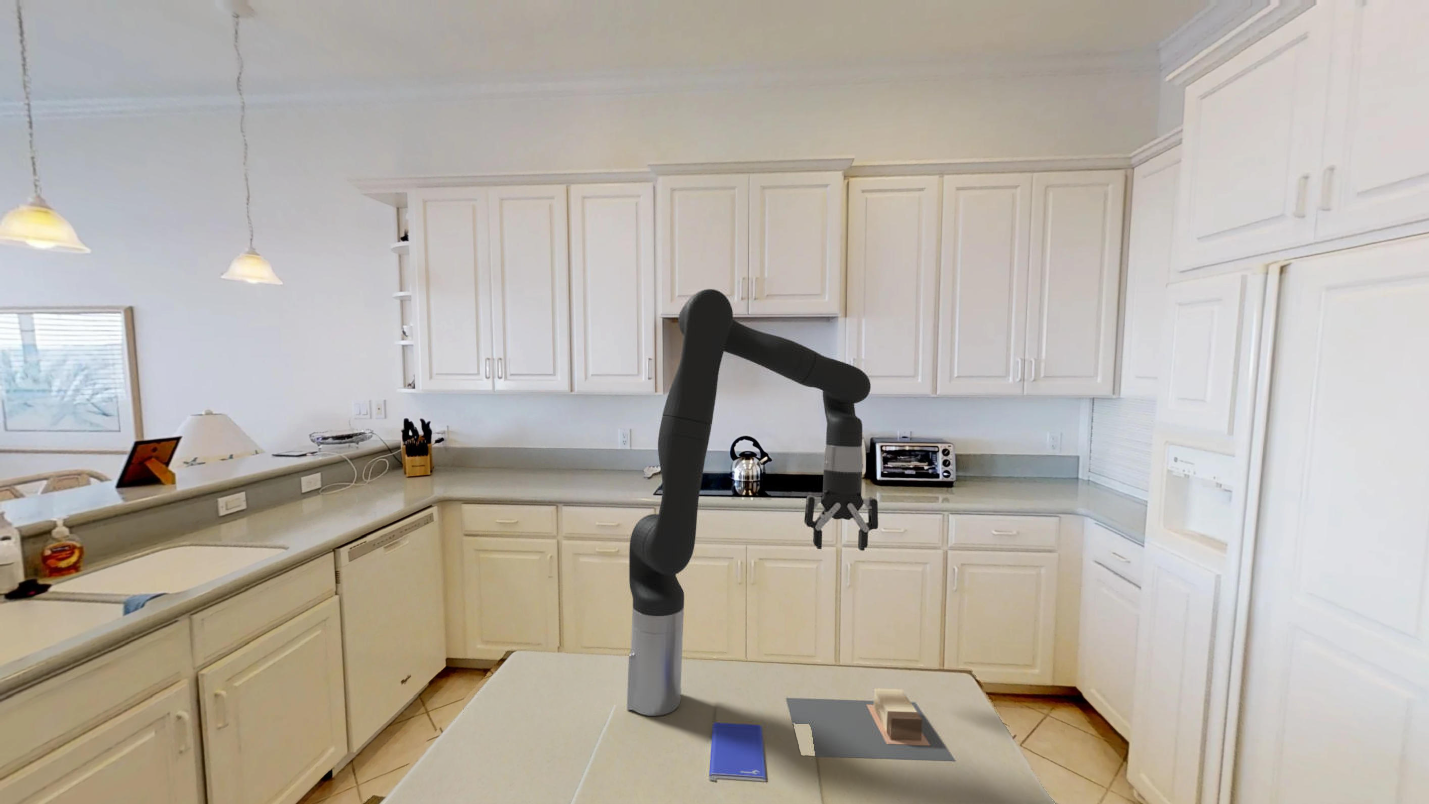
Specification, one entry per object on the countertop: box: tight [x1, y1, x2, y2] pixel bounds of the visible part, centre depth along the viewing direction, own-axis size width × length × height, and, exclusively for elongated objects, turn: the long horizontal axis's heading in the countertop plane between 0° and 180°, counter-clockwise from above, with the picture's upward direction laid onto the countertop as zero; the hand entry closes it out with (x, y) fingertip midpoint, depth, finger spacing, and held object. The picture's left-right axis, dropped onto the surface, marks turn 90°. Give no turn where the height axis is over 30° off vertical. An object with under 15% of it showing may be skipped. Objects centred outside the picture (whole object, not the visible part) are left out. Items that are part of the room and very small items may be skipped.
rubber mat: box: [785, 697, 956, 762], centre depth 89 cm, size 24×16×1 cm, turn 90°
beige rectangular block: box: [873, 688, 922, 741], centre depth 90 cm, size 9×5×4 cm, turn 0°
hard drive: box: [708, 722, 767, 782], centre depth 82 cm, size 2×8×12 cm
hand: (839, 548), depth 105 cm, fingers open, 8 cm apart
